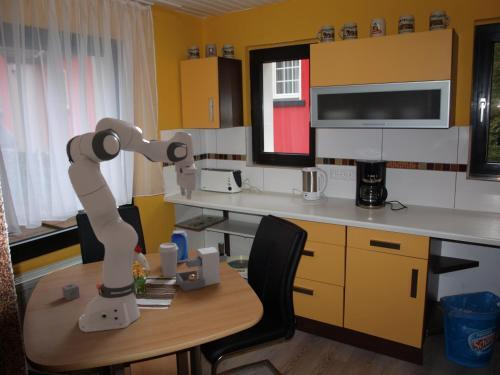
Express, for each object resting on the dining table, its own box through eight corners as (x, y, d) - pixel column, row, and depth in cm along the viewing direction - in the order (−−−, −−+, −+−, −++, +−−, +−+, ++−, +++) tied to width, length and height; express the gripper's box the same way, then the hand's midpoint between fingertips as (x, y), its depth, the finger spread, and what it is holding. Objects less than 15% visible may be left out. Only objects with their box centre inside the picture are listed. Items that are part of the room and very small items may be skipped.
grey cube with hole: (74, 293, 186) (73, 283, 185) (79, 297, 182) (78, 286, 181) (63, 297, 182) (62, 286, 181) (68, 300, 179) (66, 289, 178)
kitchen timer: (142, 280, 200) (140, 249, 197) (115, 278, 203) (113, 248, 200) (154, 269, 213) (152, 241, 211) (129, 267, 216) (127, 239, 213)
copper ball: (191, 274, 191) (199, 277, 193) (189, 271, 195) (196, 274, 196) (187, 282, 191) (195, 285, 192) (185, 279, 194) (192, 282, 196)
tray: (183, 291, 186) (183, 283, 185) (176, 281, 197) (175, 273, 197) (205, 287, 190) (204, 279, 189) (196, 277, 201) (196, 269, 201)
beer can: (170, 262, 222) (168, 233, 220) (175, 257, 231) (174, 229, 228) (185, 263, 221) (184, 234, 218) (190, 258, 229) (189, 229, 226)
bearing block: (203, 285, 192) (202, 254, 189) (198, 279, 199) (197, 249, 196) (220, 282, 195) (219, 251, 192) (214, 276, 202) (213, 246, 200)
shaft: (188, 267, 190) (187, 249, 188) (185, 264, 193) (185, 247, 192) (226, 261, 197) (226, 244, 195) (223, 258, 201) (223, 241, 199)
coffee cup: (183, 273, 207) (182, 244, 204) (170, 280, 199) (168, 249, 197) (169, 269, 212) (167, 241, 210) (155, 276, 204) (153, 246, 202)
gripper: (172, 165, 201) (174, 194, 204) (183, 170, 183) (185, 201, 185) (185, 164, 204) (186, 193, 206) (197, 169, 185) (199, 200, 188)
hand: (186, 197), depth 196 cm, fingers open, 8 cm apart
